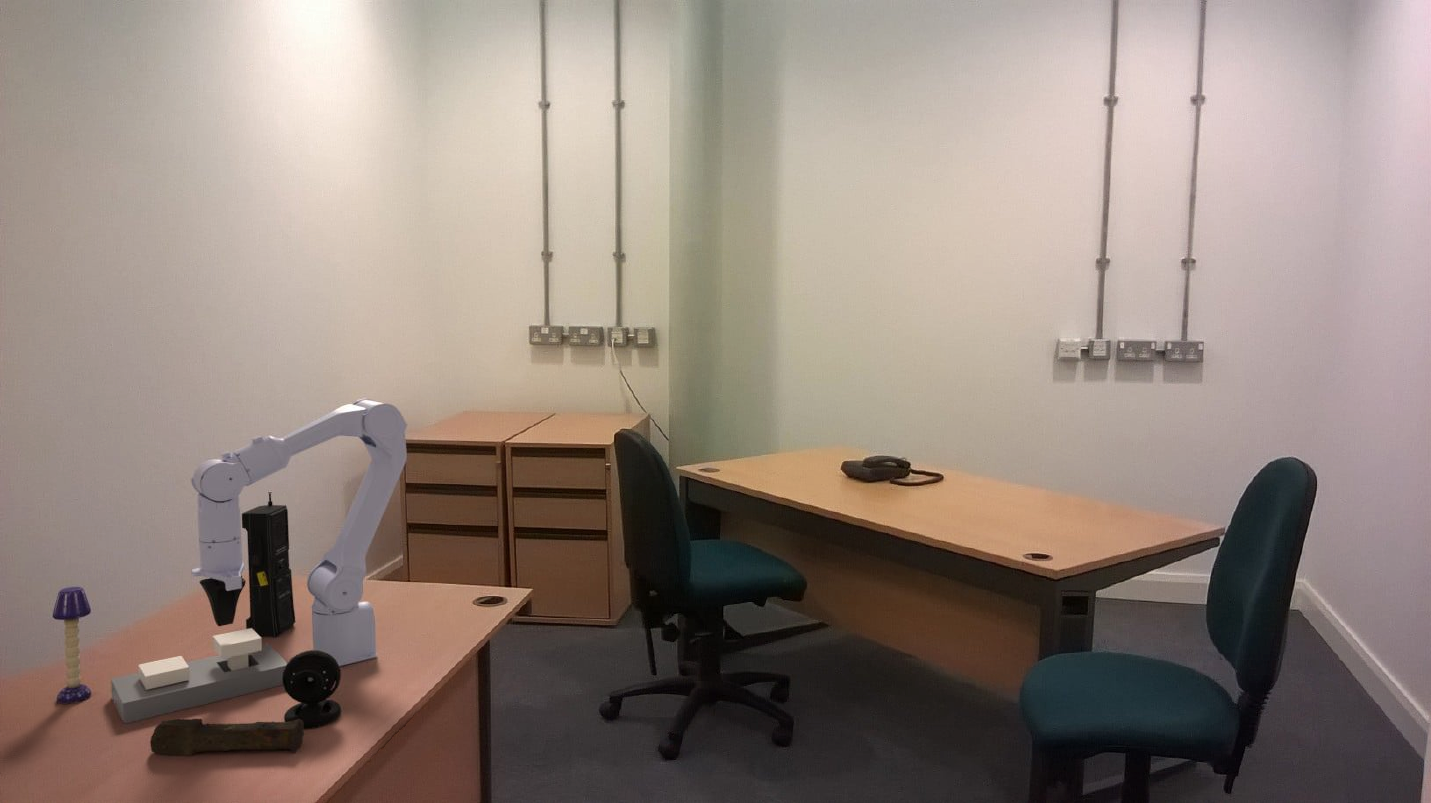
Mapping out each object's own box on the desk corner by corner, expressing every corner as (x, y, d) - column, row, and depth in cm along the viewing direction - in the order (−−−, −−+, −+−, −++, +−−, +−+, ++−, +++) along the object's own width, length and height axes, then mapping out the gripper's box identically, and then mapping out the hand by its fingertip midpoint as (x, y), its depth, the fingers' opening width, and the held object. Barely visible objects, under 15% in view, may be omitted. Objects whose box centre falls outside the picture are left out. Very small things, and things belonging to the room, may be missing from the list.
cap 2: (252, 656, 145) (251, 627, 144) (262, 667, 141) (261, 637, 140) (213, 665, 141) (212, 635, 141) (222, 676, 137) (221, 646, 137)
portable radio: (276, 640, 159) (271, 501, 156) (242, 639, 159) (237, 500, 156) (297, 624, 167) (293, 492, 164) (265, 623, 167) (260, 491, 164)
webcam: (276, 731, 125) (274, 662, 124) (291, 708, 132) (288, 642, 131) (336, 727, 127) (334, 659, 126) (346, 704, 134) (345, 640, 133)
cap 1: (182, 685, 139) (181, 655, 138) (190, 697, 134) (189, 666, 134) (140, 695, 135) (138, 664, 134) (146, 708, 131) (145, 676, 130)
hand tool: (307, 742, 123) (306, 709, 122) (295, 756, 119) (294, 722, 118) (163, 745, 121) (161, 712, 121) (146, 759, 117) (144, 725, 117)
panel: (269, 661, 149) (269, 644, 149) (289, 683, 141) (289, 664, 141) (111, 697, 135) (110, 678, 135) (124, 723, 127) (122, 703, 126)
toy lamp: (63, 692, 136) (56, 585, 134) (99, 688, 138) (93, 582, 136) (52, 705, 132) (45, 595, 130) (90, 701, 133) (83, 592, 132)
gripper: (180, 532, 140) (185, 616, 142) (201, 552, 130) (206, 643, 131) (230, 525, 145) (234, 607, 147) (255, 544, 134) (259, 632, 136)
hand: (224, 623), depth 139 cm, fingers closed
